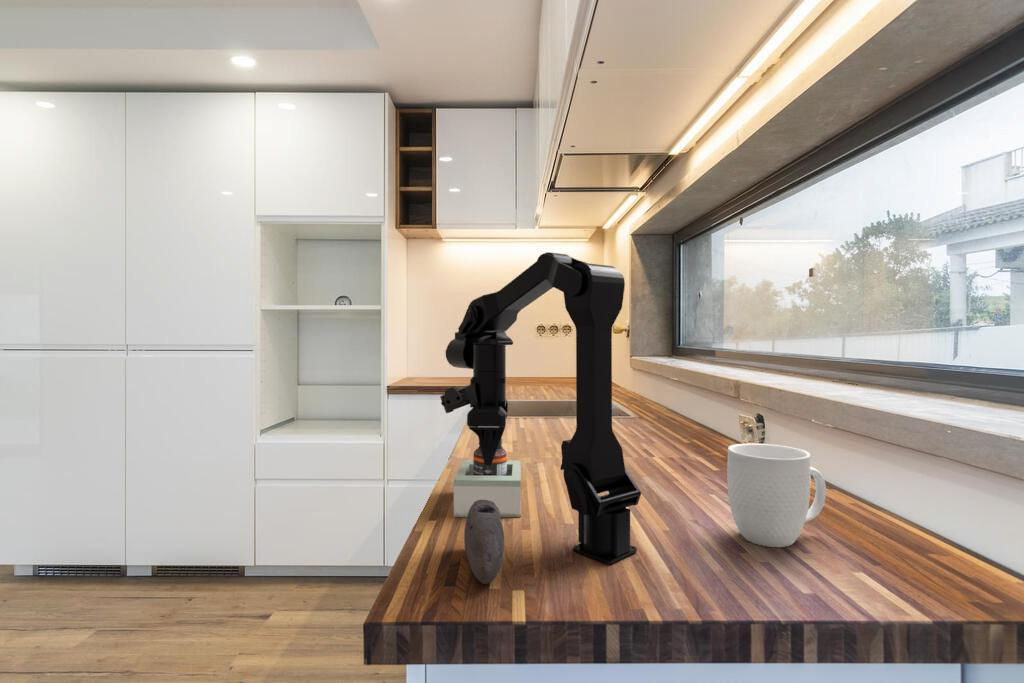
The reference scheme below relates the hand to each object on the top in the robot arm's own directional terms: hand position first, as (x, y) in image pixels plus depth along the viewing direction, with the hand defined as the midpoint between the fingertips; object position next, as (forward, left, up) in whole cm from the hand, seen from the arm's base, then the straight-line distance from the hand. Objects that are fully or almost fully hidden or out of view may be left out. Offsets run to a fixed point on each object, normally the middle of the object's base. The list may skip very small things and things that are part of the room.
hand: (489, 458), depth 96 cm
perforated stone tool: (-20, +18, -8) cm, 28 cm away
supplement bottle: (0, 0, -8) cm, 8 cm away
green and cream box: (0, 0, -8) cm, 8 cm away
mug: (-41, -20, -8) cm, 46 cm away
